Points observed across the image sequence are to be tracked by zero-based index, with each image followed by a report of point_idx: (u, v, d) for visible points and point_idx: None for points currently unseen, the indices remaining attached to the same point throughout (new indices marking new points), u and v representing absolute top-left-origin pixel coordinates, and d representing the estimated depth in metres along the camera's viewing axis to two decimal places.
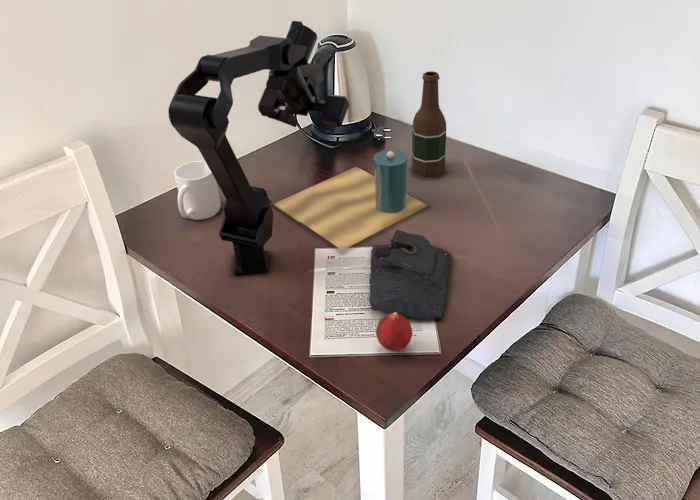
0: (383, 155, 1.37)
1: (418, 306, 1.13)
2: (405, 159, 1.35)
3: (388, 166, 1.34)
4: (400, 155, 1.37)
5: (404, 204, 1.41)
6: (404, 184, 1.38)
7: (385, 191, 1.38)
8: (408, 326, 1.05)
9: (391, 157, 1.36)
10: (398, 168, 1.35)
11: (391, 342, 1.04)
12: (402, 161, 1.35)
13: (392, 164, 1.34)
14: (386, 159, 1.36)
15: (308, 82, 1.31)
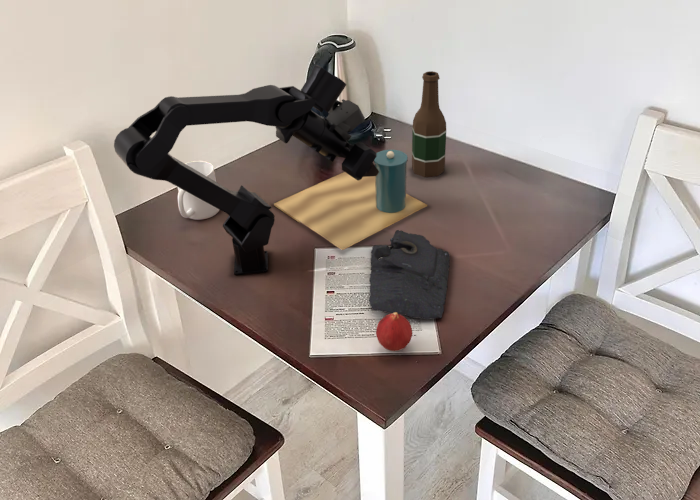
0: (383, 155, 1.37)
1: (418, 306, 1.13)
2: (405, 159, 1.35)
3: (388, 166, 1.34)
4: (400, 155, 1.37)
5: (404, 204, 1.41)
6: (404, 184, 1.38)
7: (385, 191, 1.38)
8: (408, 326, 1.05)
9: (391, 157, 1.36)
10: (398, 168, 1.35)
11: (391, 342, 1.04)
12: (402, 161, 1.35)
13: (392, 164, 1.34)
14: (386, 159, 1.36)
15: (332, 129, 1.21)
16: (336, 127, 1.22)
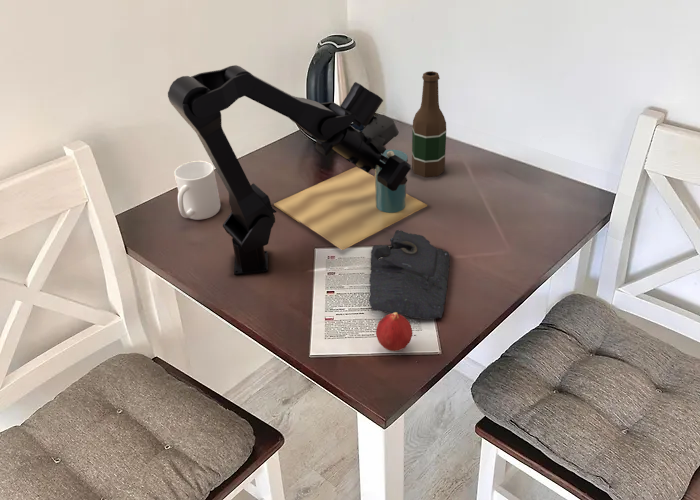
0: (383, 155, 1.37)
1: (418, 306, 1.13)
2: (405, 159, 1.35)
3: None
4: (400, 155, 1.37)
5: (404, 204, 1.41)
6: (404, 184, 1.38)
7: (385, 191, 1.38)
8: (408, 326, 1.05)
9: None
10: None
11: (391, 342, 1.04)
12: None
13: None
14: None
15: (369, 142, 1.28)
16: (372, 140, 1.28)
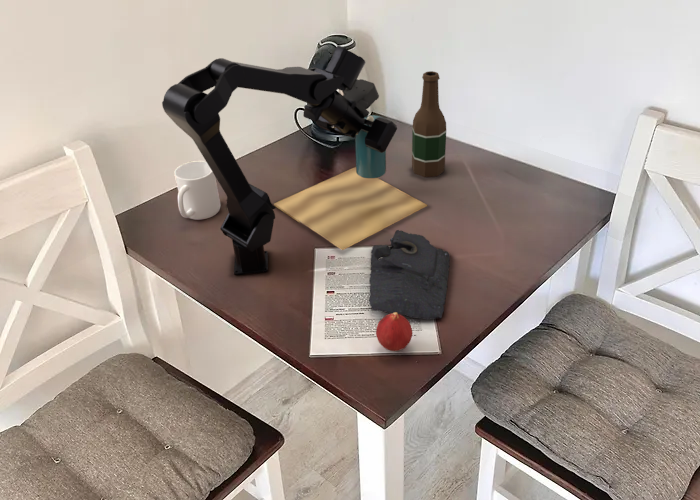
0: None
1: (418, 306, 1.13)
2: None
3: None
4: None
5: (385, 168, 1.43)
6: None
7: (368, 156, 1.39)
8: (408, 326, 1.05)
9: None
10: None
11: (391, 342, 1.04)
12: None
13: None
14: None
15: (354, 106, 1.29)
16: (357, 104, 1.29)
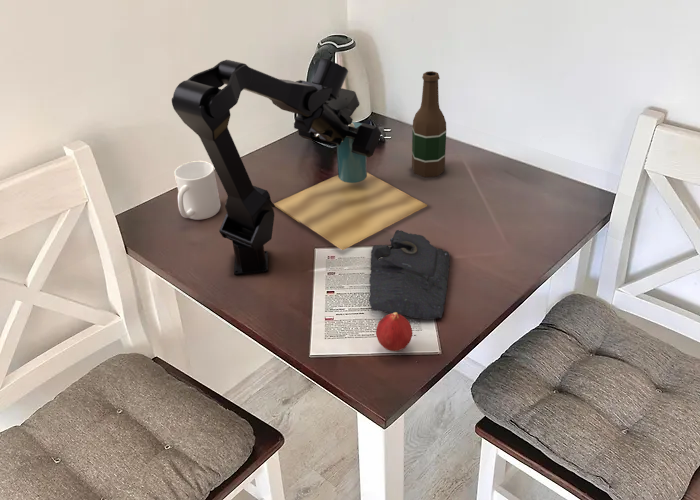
0: None
1: (418, 306, 1.13)
2: None
3: None
4: (358, 125, 1.44)
5: (366, 172, 1.49)
6: None
7: (351, 161, 1.44)
8: (408, 326, 1.05)
9: None
10: None
11: (391, 342, 1.04)
12: None
13: None
14: None
15: (339, 114, 1.34)
16: (342, 112, 1.34)
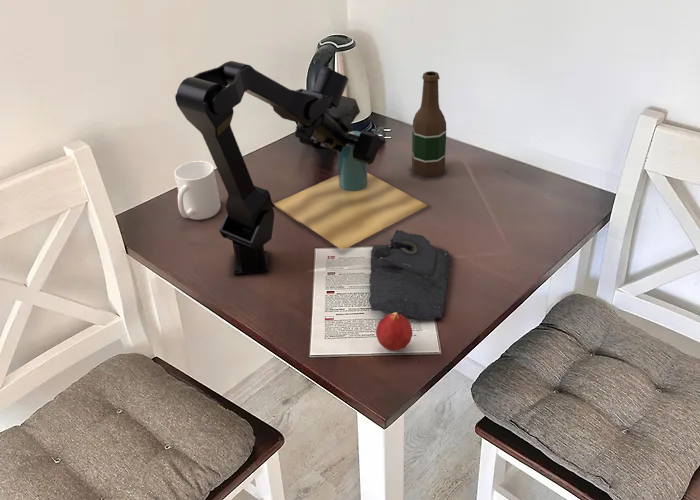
0: None
1: (418, 306, 1.13)
2: None
3: None
4: (359, 134, 1.45)
5: (367, 180, 1.50)
6: None
7: (352, 170, 1.45)
8: (408, 326, 1.05)
9: None
10: None
11: (391, 342, 1.04)
12: None
13: None
14: None
15: (340, 122, 1.35)
16: (342, 120, 1.35)
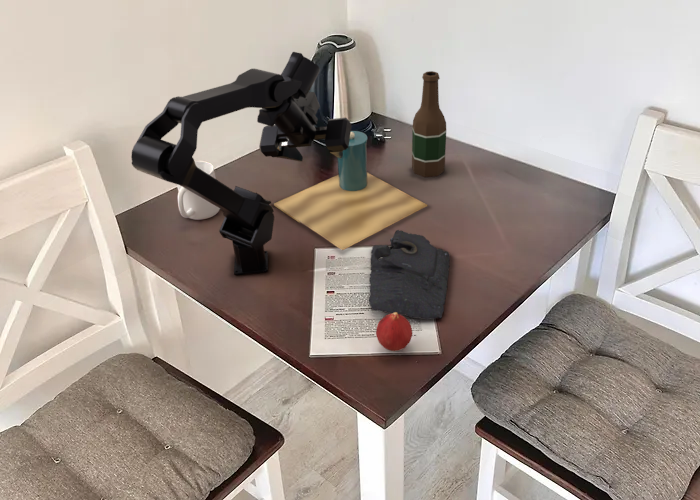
0: None
1: (418, 306, 1.13)
2: (365, 137, 1.44)
3: (354, 145, 1.42)
4: (359, 134, 1.45)
5: (367, 180, 1.50)
6: (366, 161, 1.47)
7: (352, 170, 1.45)
8: (408, 326, 1.05)
9: (353, 137, 1.44)
10: (362, 146, 1.43)
11: (391, 342, 1.04)
12: (364, 139, 1.44)
13: (357, 143, 1.42)
14: None
15: (305, 111, 1.26)
16: (307, 109, 1.26)
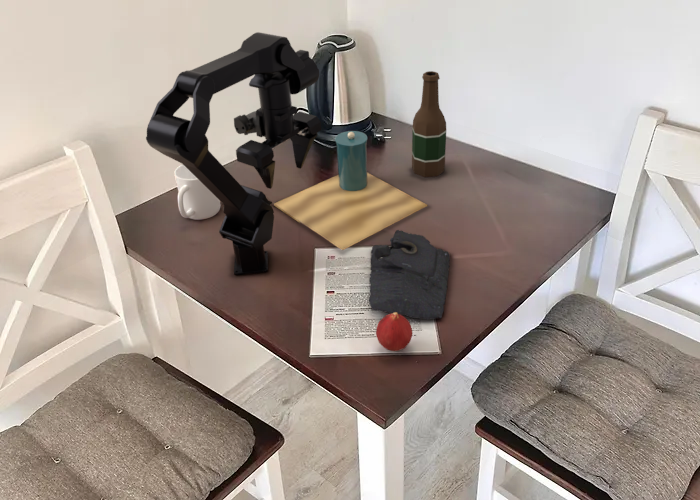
0: (343, 137, 1.45)
1: (418, 306, 1.13)
2: (365, 137, 1.44)
3: (354, 145, 1.42)
4: (359, 134, 1.45)
5: (367, 180, 1.50)
6: (366, 161, 1.47)
7: (352, 170, 1.45)
8: (408, 326, 1.05)
9: (353, 137, 1.44)
10: (362, 146, 1.43)
11: (391, 342, 1.04)
12: (364, 139, 1.44)
13: (357, 143, 1.42)
14: (348, 140, 1.43)
15: None
16: None
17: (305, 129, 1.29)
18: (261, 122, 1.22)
